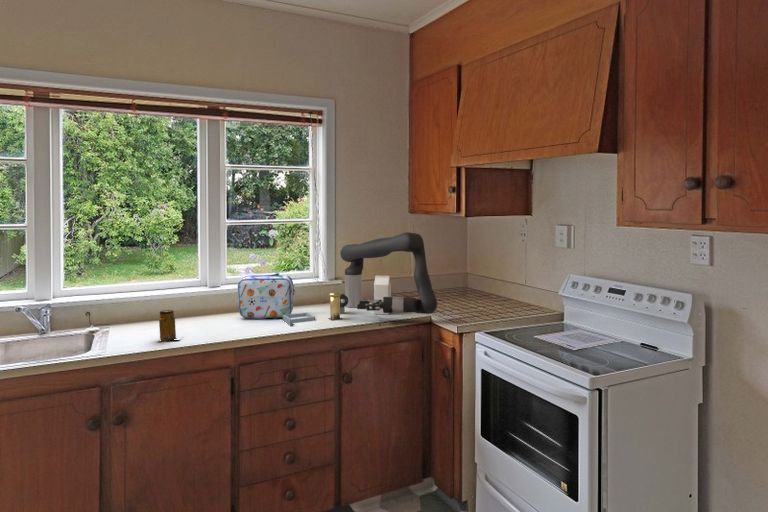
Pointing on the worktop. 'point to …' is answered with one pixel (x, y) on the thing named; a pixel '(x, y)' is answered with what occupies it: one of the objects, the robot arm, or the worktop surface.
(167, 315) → the condiment
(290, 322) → the grey open frame
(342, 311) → the tensioner bracket
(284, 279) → the lunch box
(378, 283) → the milk carton
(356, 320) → the worktop surface
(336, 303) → the pin
